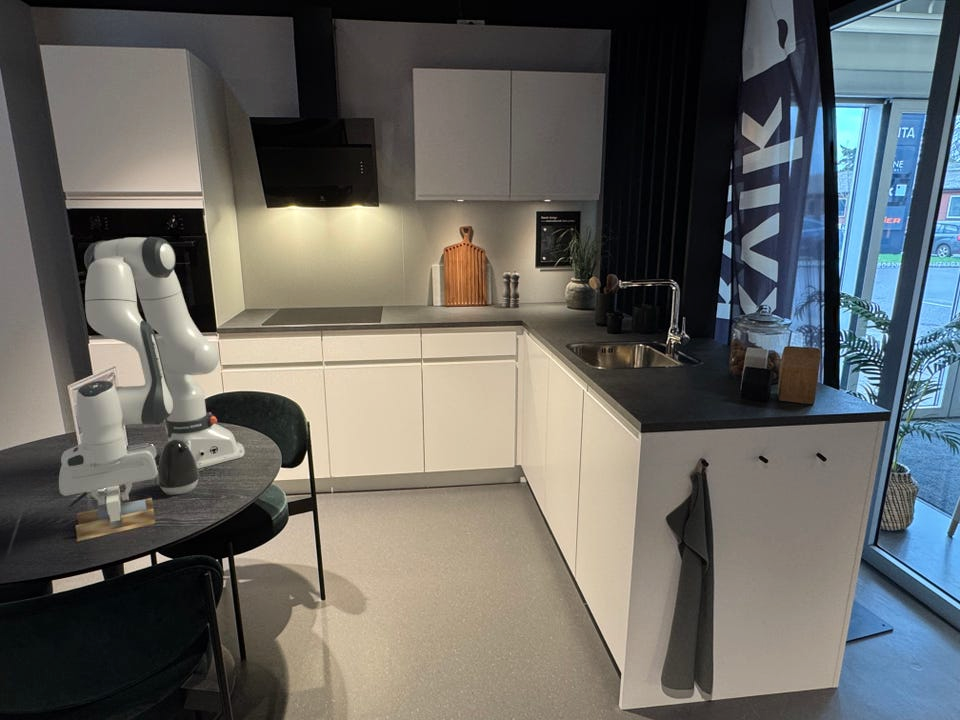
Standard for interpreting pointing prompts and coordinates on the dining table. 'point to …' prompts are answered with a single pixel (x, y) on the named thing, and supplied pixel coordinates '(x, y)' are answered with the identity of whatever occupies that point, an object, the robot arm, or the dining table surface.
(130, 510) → the light blue block
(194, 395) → the robot arm
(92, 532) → the brown low boxy piece
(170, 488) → the dark grey egg shape
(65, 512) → the dining table surface
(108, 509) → the tie bar
